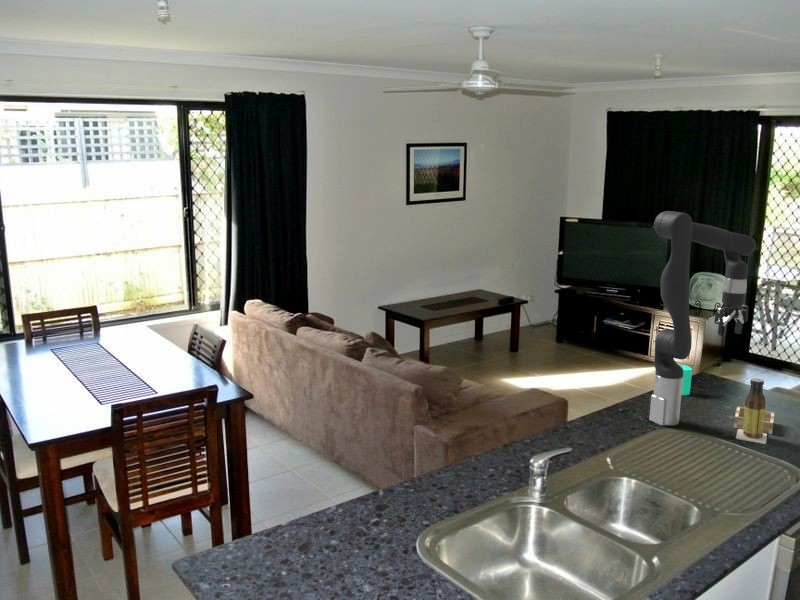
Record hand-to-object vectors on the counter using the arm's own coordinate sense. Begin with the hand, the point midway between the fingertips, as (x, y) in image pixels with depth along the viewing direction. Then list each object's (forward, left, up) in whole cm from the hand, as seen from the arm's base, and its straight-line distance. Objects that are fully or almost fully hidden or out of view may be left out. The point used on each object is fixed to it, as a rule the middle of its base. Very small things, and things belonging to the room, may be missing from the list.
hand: (729, 334), depth 256 cm
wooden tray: (+1, -13, -30) cm, 33 cm away
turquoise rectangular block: (+5, +23, -30) cm, 38 cm away
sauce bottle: (-9, -20, -30) cm, 37 cm away
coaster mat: (-9, -20, -30) cm, 37 cm away
